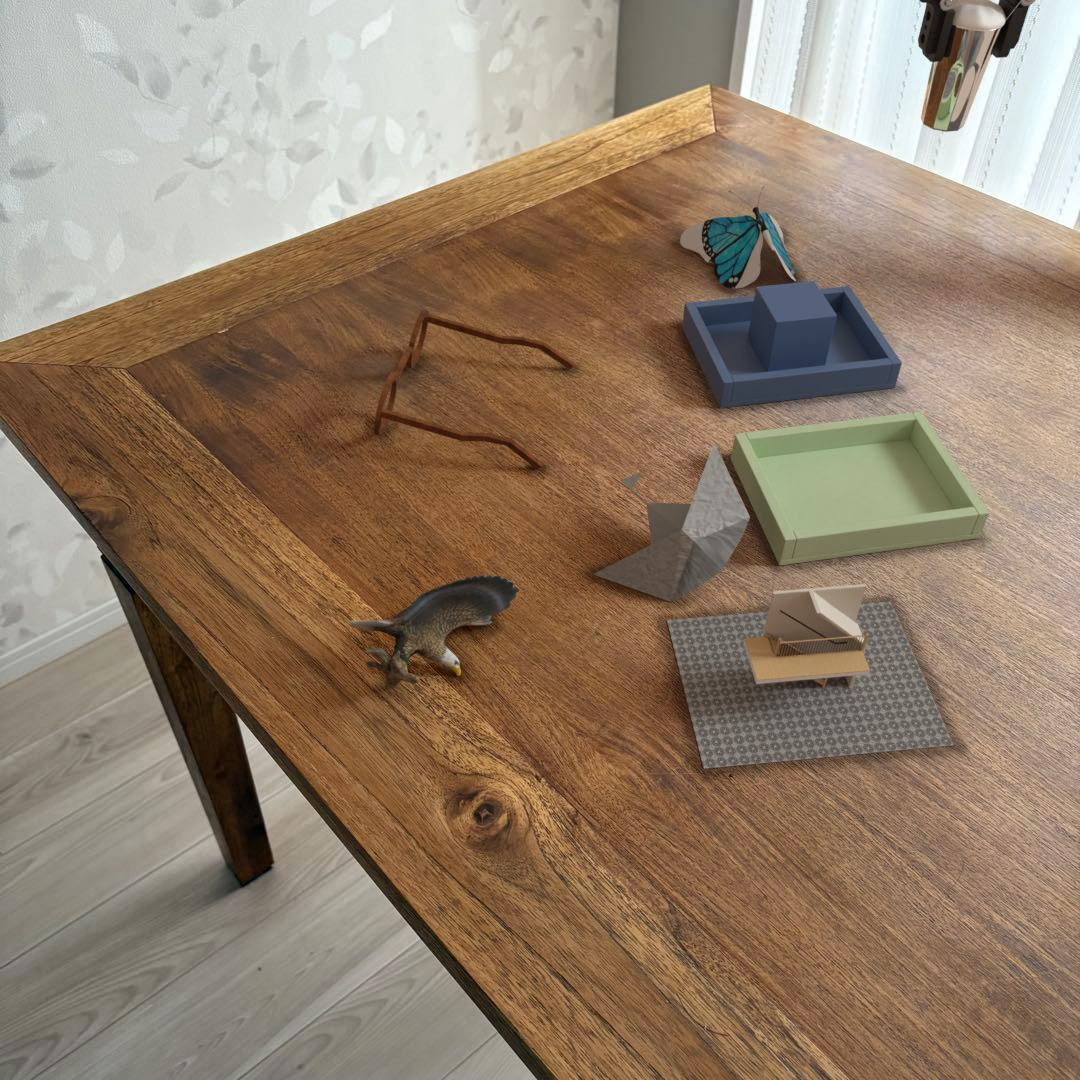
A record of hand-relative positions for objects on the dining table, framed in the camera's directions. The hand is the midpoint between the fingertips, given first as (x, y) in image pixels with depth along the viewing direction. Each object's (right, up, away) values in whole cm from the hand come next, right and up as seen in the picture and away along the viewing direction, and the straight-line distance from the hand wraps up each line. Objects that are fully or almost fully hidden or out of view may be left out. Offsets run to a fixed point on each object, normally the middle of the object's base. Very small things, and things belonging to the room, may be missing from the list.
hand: (964, 54), depth 82 cm
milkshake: (0, -4, +4) cm, 6 cm away
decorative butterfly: (-12, -11, +20) cm, 26 cm away
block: (-11, -21, +9) cm, 25 cm away
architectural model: (-15, -45, -14) cm, 49 cm away
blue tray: (-11, -21, +9) cm, 26 cm away
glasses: (-36, -26, +5) cm, 45 cm away
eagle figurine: (-38, -43, -12) cm, 59 cm away
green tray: (-9, -33, -2) cm, 34 cm away
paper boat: (-22, -37, -6) cm, 44 cm away
